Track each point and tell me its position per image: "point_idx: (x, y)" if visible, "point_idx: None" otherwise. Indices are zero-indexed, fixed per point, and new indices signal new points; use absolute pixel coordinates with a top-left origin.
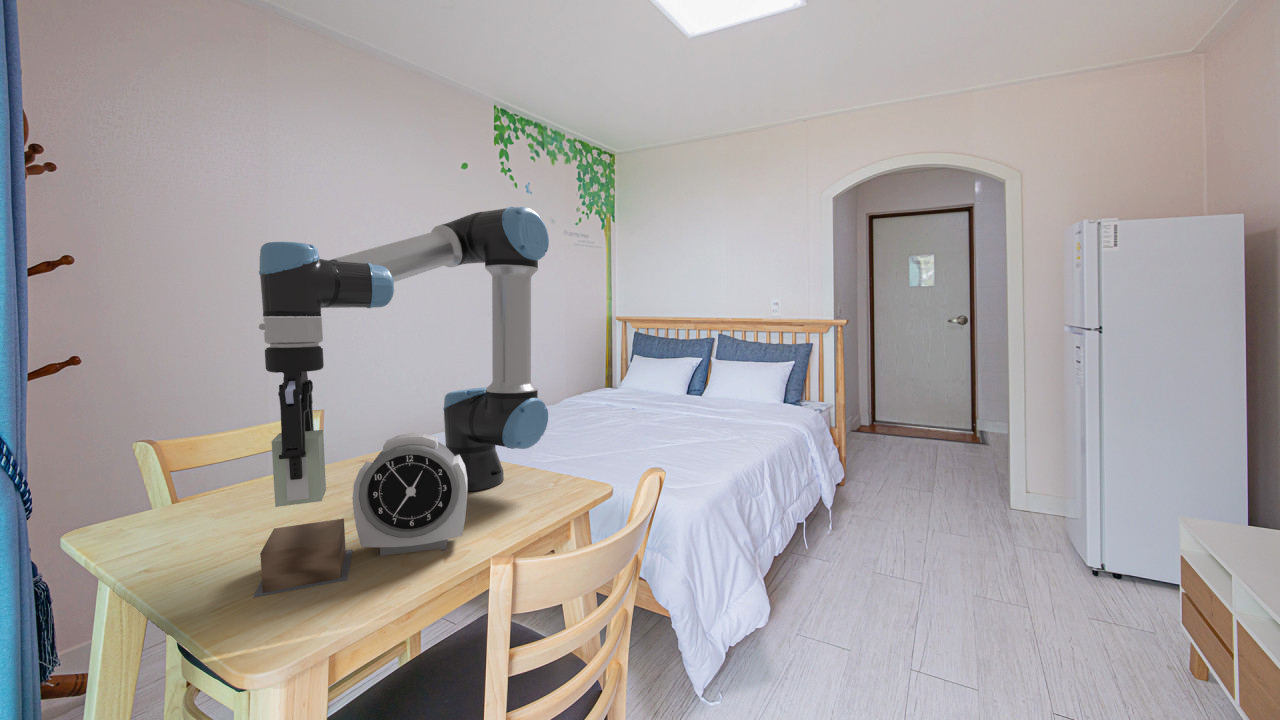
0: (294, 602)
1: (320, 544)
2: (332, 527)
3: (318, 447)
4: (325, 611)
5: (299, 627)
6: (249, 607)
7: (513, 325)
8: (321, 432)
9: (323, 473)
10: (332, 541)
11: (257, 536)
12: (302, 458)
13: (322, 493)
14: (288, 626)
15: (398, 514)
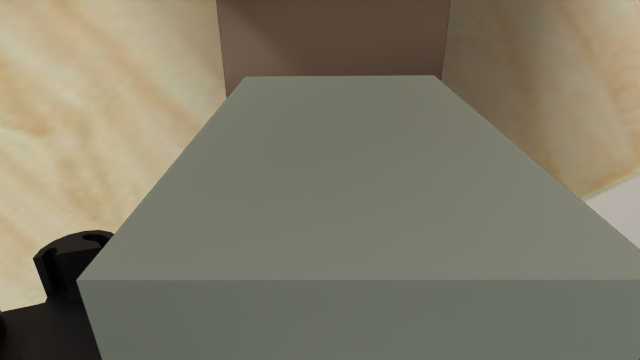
0: (478, 86)
1: (443, 52)
2: (301, 29)
3: (585, 208)
4: (570, 11)
5: (608, 58)
6: None
7: None
8: (287, 280)
9: (311, 104)
10: (445, 14)
11: (47, 227)
12: None
13: (394, 80)
14: (587, 81)
15: None
